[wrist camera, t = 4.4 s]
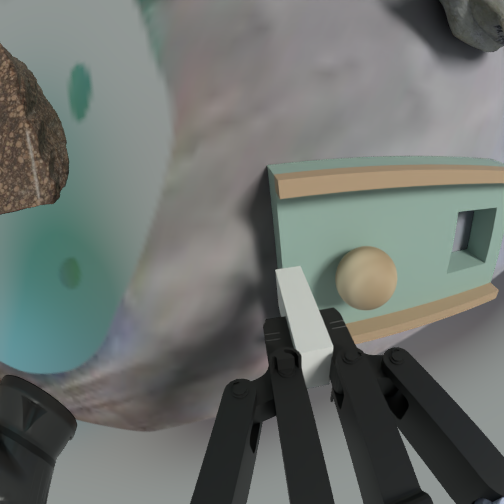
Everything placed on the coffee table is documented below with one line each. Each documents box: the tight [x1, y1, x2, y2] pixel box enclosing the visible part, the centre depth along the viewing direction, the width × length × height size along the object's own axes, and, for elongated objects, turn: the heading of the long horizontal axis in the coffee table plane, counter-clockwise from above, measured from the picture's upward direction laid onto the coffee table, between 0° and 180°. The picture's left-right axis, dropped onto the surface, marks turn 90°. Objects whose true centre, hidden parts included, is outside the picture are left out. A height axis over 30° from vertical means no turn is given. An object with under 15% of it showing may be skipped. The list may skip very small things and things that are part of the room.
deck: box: [267, 156, 504, 344], centre depth 19 cm, size 22×13×4 cm, turn 97°
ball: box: [335, 246, 397, 310], centre depth 17 cm, size 4×4×4 cm
